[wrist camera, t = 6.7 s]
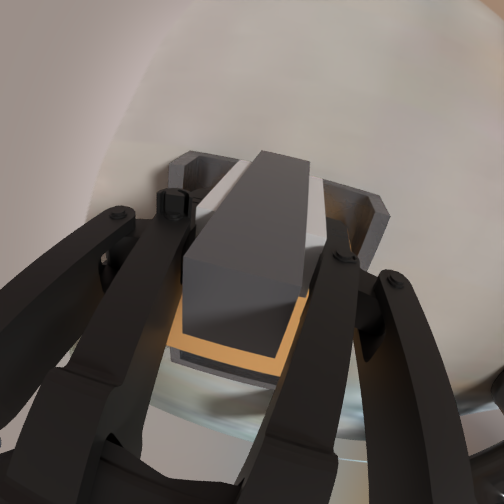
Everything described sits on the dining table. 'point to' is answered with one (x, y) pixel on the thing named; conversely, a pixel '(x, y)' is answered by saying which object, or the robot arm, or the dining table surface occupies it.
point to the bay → (336, 207)
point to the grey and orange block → (248, 270)
